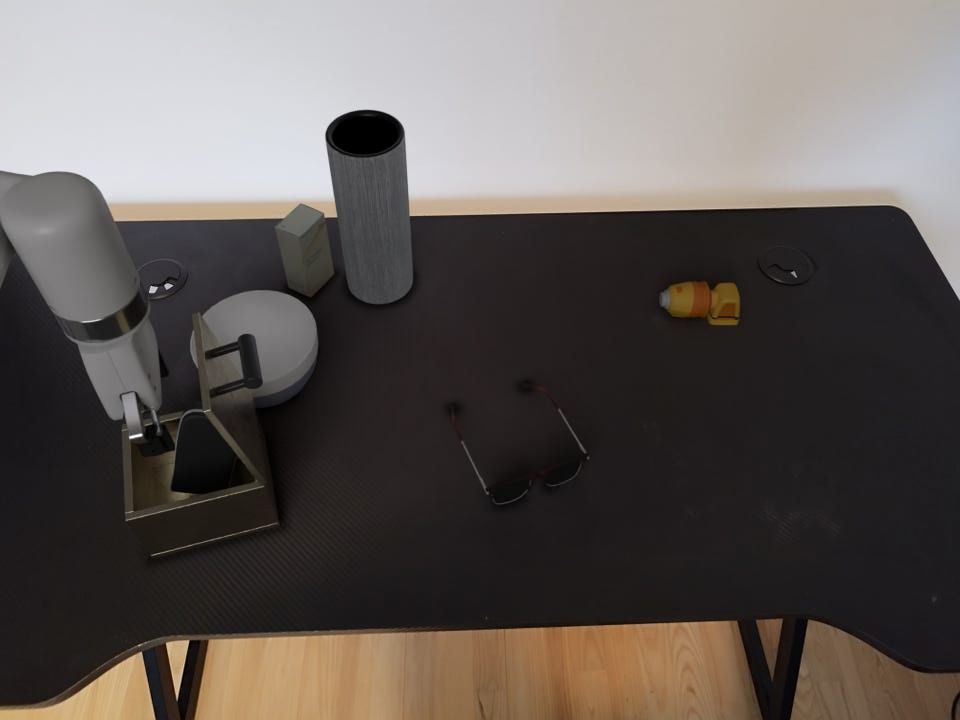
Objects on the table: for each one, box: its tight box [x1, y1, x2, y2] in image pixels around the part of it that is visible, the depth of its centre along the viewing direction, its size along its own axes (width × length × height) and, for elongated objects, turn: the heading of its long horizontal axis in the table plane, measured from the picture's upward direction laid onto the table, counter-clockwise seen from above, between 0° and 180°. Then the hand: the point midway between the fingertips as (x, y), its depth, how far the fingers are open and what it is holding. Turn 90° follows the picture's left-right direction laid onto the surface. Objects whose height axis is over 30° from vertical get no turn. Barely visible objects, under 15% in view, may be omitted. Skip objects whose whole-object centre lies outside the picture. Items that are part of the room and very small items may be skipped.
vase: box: [324, 109, 414, 305], centre depth 110 cm, size 10×10×27 cm
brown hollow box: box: [121, 410, 281, 559], centre depth 94 cm, size 15×13×10 cm
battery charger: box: [170, 401, 237, 495], centre depth 94 cm, size 7×4×11 cm
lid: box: [191, 312, 267, 485], centre depth 85 cm, size 16×13×5 cm
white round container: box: [189, 289, 319, 409], centre depth 105 cm, size 16×16×10 cm
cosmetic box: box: [274, 202, 335, 298], centre depth 116 cm, size 6×4×12 cm
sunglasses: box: [450, 382, 590, 505], centre depth 102 cm, size 14×16×5 cm
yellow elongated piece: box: [658, 280, 741, 326], centre depth 117 cm, size 5×6×12 cm
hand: (157, 413), depth 83 cm, fingers open, 9 cm apart
